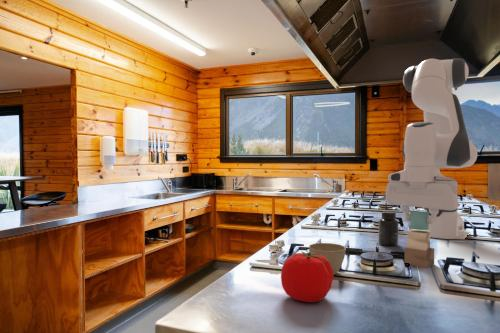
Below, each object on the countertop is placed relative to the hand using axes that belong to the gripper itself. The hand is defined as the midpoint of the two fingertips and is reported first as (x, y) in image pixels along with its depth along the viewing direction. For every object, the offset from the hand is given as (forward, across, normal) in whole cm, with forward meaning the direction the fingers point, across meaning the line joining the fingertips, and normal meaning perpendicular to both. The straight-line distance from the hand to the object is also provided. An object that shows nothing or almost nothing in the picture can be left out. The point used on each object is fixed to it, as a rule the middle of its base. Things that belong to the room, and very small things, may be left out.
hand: (419, 222), depth 105 cm
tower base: (+13, 0, 0) cm, 13 cm away
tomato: (+13, +3, +46) cm, 48 cm away
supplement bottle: (+13, +19, -16) cm, 28 cm away
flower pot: (+13, +12, +28) cm, 33 cm away
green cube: (+2, 0, 0) cm, 2 cm away
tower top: (+8, 0, 0) cm, 8 cm away
